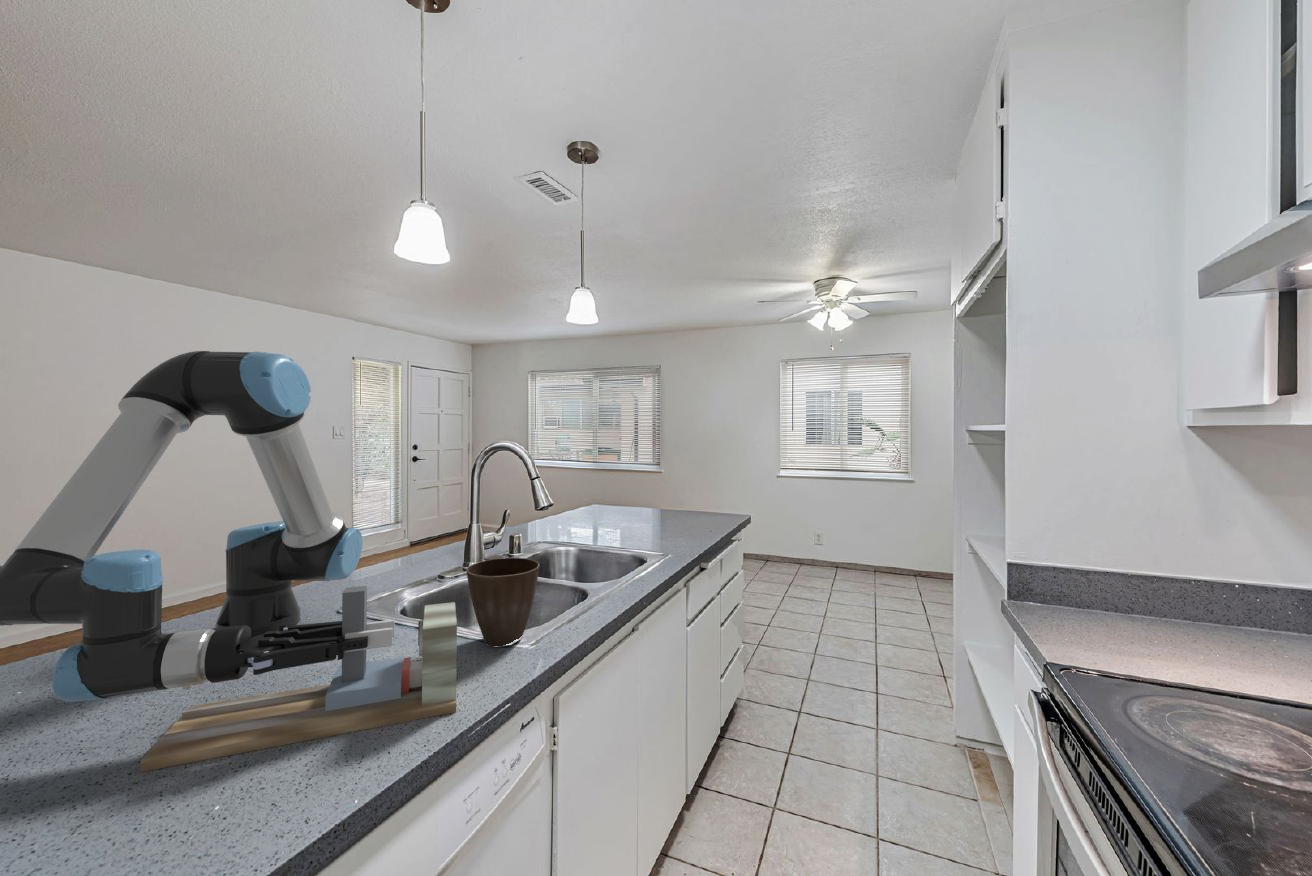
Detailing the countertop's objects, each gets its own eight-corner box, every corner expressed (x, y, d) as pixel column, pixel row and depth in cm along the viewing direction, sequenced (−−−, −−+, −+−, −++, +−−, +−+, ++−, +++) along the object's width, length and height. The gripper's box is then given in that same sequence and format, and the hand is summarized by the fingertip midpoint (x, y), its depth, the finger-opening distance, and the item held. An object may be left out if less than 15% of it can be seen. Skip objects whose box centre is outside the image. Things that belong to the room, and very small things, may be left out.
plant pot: (492, 662, 97) (493, 580, 97) (451, 642, 107) (452, 567, 107) (552, 639, 109) (553, 565, 109) (511, 622, 118) (512, 554, 118)
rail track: (189, 716, 78) (190, 629, 78) (454, 673, 93) (454, 600, 93) (140, 772, 65) (141, 668, 65) (456, 712, 80) (457, 627, 80)
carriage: (338, 680, 84) (338, 582, 84) (404, 670, 88) (405, 576, 88) (325, 711, 75) (326, 601, 75) (400, 698, 79) (401, 593, 79)
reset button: (403, 681, 86) (404, 658, 86) (448, 674, 88) (448, 651, 88) (401, 695, 81) (401, 670, 81) (448, 687, 84) (449, 663, 84)
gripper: (233, 658, 81) (397, 636, 90) (186, 709, 66) (388, 677, 75) (233, 611, 81) (397, 595, 90) (186, 652, 66) (388, 627, 75)
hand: (392, 632), depth 83 cm, fingers closed on carriage, 3 cm apart
